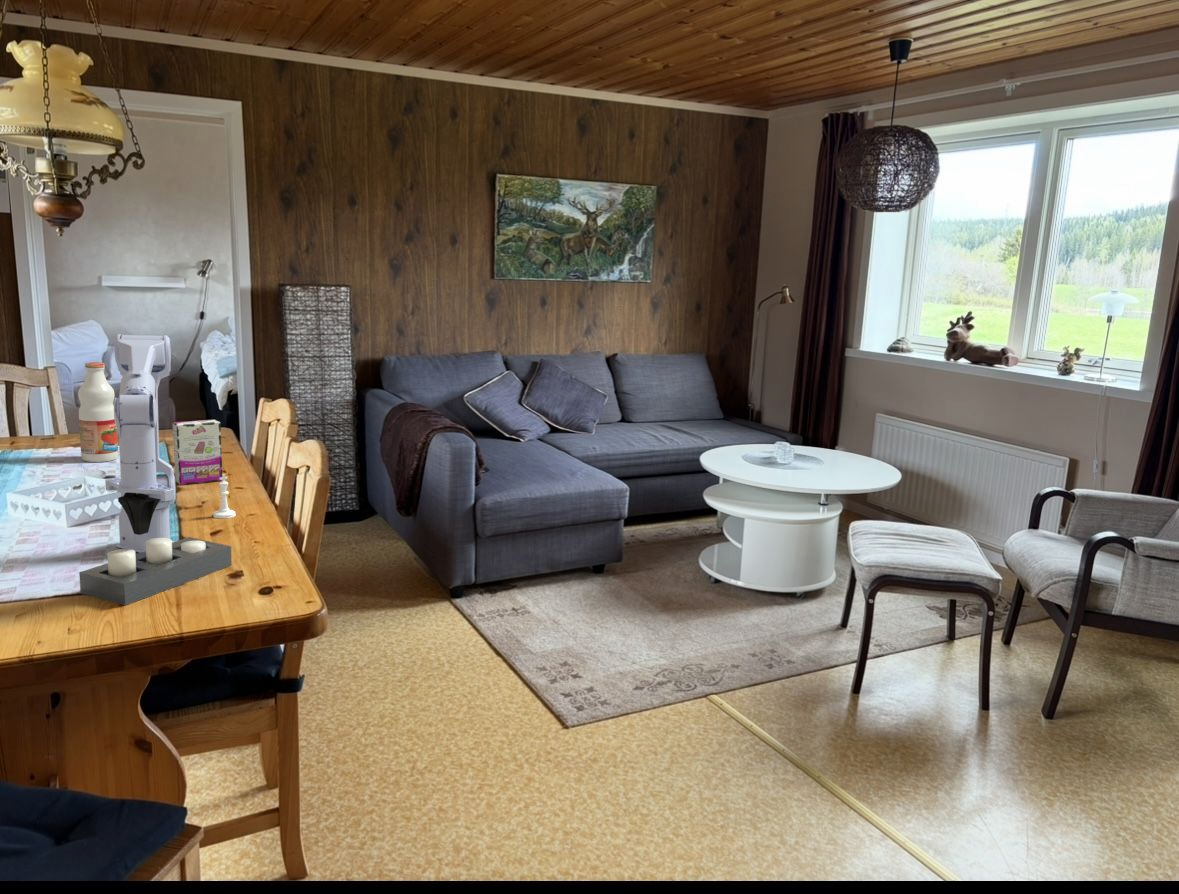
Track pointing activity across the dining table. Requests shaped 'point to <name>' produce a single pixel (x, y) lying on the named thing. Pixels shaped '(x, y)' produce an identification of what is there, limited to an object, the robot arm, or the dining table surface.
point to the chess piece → (224, 501)
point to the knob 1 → (121, 563)
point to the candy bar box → (197, 451)
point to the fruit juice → (97, 416)
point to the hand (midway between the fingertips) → (141, 533)
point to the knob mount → (155, 573)
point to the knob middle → (158, 550)
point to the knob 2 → (193, 546)
